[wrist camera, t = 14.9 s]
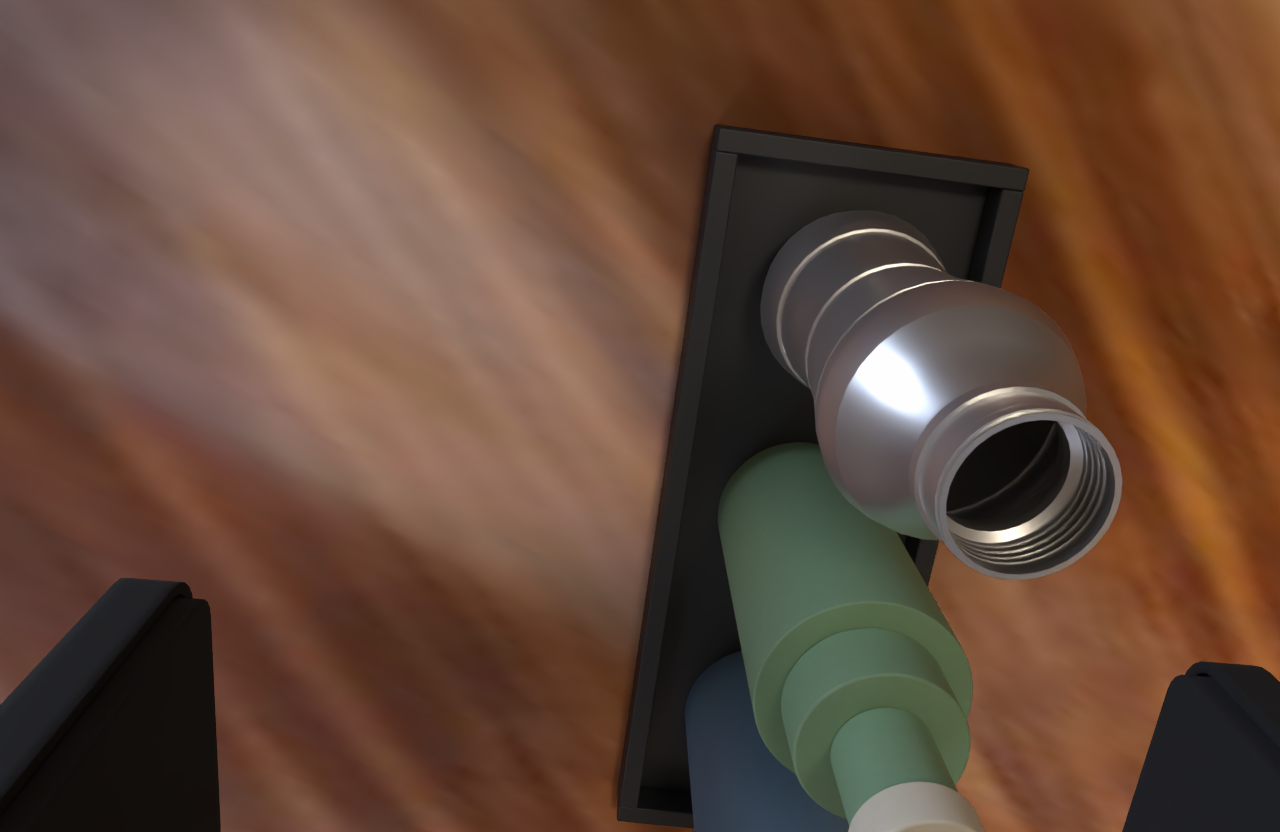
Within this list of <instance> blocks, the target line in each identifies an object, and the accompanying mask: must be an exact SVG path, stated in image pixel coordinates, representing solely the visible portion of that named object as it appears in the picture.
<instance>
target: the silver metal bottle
mask: <svg viewBox="0 0 1280 832" xmlns="http://www.w3.org/2000/svg"><path fill="white" fill-rule="evenodd" d="M760 311H761V325H762V329H763V333H764V337H765V340H766V342H767V344H768V346H769V348H770V350H771V352H772V354H773V356H774V357H775V358H776V360H777V361H778V362H779V363H780V364H781V366H782V367H783V368H784V369H785V370H786V371H787V372H788V373H790V374H791V375H792V376H793V377H794V378H796V379H797V380H798V381H799V382H801V383H802V384H803V385H804V386H806V387H808V388H810V389H811V392H812V396H813V398H814V410H815V425H816V434H817V438H818V442H819V446H820V450H821V453H822V457H823V460H824V464H825V467H826V469H827V471H828V473H829V475H830V477H831V479H832V481H833V483H834V485H835V486H836V488H837V489H838V490H839V491H840V492H841V494H842V495H843V496H844V497H845V498H846V500H847V501H848V502H849V503H850V504H851V505H853V506H854V507H855V508H856V509H858V510H859V511H860V512H862V513H863V514H864V515H865V516H867V517H868V518H870V519H872V520H874V521H876V522H878V523H880V524H882V525H884V526H886V527H888V528H890V529H892V530H894V531H896V532H898V533H900V534H904V535H908V536H912V537H915V538H919V539H924V540H940V541H943V542H944V543H945V544H946V546H947V547H948V548H949V549H950V551H951V552H952V553H953V554H954V556H956V557H957V558H958V559H960V560H961V561H962V562H963V563H965V564H966V565H967V566H969V567H970V568H972V569H974V570H976V571H978V572H980V573H982V574H984V575H987V576H991V577H995V578H998V579H1005V580H1025V579H1034V578H1039V577H1042V576H1045V575H1049V574H1052V573H1055V572H1057V571H1059V570H1061V569H1063V568H1065V567H1067V566H1070V565H1071V564H1073V563H1074V562H1075V561H1077V560H1078V559H1080V558H1081V557H1083V556H1084V555H1085V554H1086V553H1087V552H1089V551H1090V550H1091V549H1092V548H1093V547H1094V546H1095V545H1096V544H1097V543H1098V542H1099V540H1100V539H1101V538H1102V536H1103V535H1104V534H1105V532H1106V531H1107V530H1108V528H1109V527H1110V525H1111V523H1112V521H1113V519H1114V517H1115V515H1116V513H1117V509H1118V505H1119V502H1120V498H1121V490H1122V475H1121V469H1120V463H1119V461H1118V459H1117V456H1116V454H1115V451H1114V449H1113V448H1112V446H1111V445H1110V443H1109V442H1108V440H1107V439H1106V438H1105V436H1104V435H1103V434H1102V432H1101V431H1100V430H1098V429H1097V428H1096V427H1095V426H1094V425H1093V424H1091V423H1090V422H1089V421H1088V420H1087V419H1086V394H1085V388H1084V382H1083V377H1082V374H1081V371H1080V367H1079V364H1078V362H1077V359H1076V357H1075V354H1074V352H1073V349H1072V347H1071V344H1070V342H1069V340H1068V339H1067V337H1066V336H1065V335H1064V333H1063V332H1062V330H1061V329H1060V328H1059V326H1058V325H1057V323H1056V322H1055V321H1054V320H1053V319H1052V318H1050V317H1049V316H1048V315H1047V314H1046V313H1045V312H1044V311H1042V310H1041V309H1040V308H1039V307H1038V306H1036V305H1035V304H1033V303H1031V302H1029V301H1027V300H1025V299H1023V298H1021V297H1020V296H1018V295H1016V294H1013V293H1011V292H1008V291H1006V290H1004V289H1001V288H998V287H994V286H991V285H987V284H984V283H980V282H974V281H969V280H964V279H960V278H955V277H953V276H951V275H949V274H948V273H947V272H946V269H945V267H944V265H943V263H942V260H941V258H940V257H939V255H938V254H937V252H936V251H935V249H934V248H933V247H932V245H931V244H930V242H929V241H928V240H927V238H926V237H925V236H924V235H923V234H922V233H921V232H920V231H918V230H917V229H916V228H915V227H914V226H913V225H912V224H910V223H908V222H906V221H904V220H902V219H900V218H898V217H897V216H894V215H890V214H887V213H883V212H879V211H868V210H855V211H847V212H839V213H834V214H831V215H828V216H825V217H822V218H819V219H817V220H815V221H813V222H811V223H810V224H808V225H806V226H804V227H803V228H802V229H800V230H799V231H798V232H797V233H795V234H794V235H793V236H792V237H790V238H789V240H788V241H787V242H786V243H785V244H784V245H783V247H782V248H781V249H780V250H779V251H778V253H777V255H776V257H775V258H774V260H773V262H772V263H771V265H770V268H769V270H768V273H767V276H766V279H765V282H764V286H763V291H762V298H761V305H760Z"/></svg>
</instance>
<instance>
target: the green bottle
mask: <svg viewBox="0 0 1280 832" xmlns="http://www.w3.org/2000/svg"><path fill="white" fill-rule="evenodd" d="M718 528H719V533H720V539H721V544H722V549H723V555H724V560H725V565H726V570H727V576H728V581H729V586H730V592H731V597H732V602H733V607H734V613H735V618H736V623H737V629H738V634H739V639H740V644H741V650H742V655H743V660H744V665H745V671H746V676H747V681H748V687H749V692H750V697H751V702H752V708H753V713H754V718H755V723H756V726H757V729H758V732H759V734H760V736H761V738H762V740H763V742H764V744H765V745H766V747H767V748H768V749H769V751H770V752H771V753H772V755H773V756H774V757H775V758H776V759H777V760H778V761H779V762H780V763H781V764H782V765H784V766H785V767H786V768H788V769H789V770H790V771H792V772H793V773H795V774H796V776H797V778H798V780H799V782H800V784H801V786H802V787H803V789H804V790H805V791H806V793H807V794H808V795H809V796H810V797H811V798H812V799H813V800H814V801H815V802H816V803H817V804H818V805H820V806H821V807H822V808H824V809H825V810H827V811H829V812H831V813H832V814H835V815H837V816H839V817H842V818H845V819H847V821H848V824H849V830H848V832H985V830H984V828H983V826H982V823H981V821H980V819H979V817H978V815H977V813H976V811H975V809H974V808H973V806H972V805H971V803H970V802H969V801H968V800H967V799H966V798H964V797H963V796H962V795H961V794H959V793H958V791H957V789H956V787H955V785H956V783H957V782H958V780H959V779H960V777H961V775H962V773H963V771H964V769H965V767H966V764H967V761H968V757H969V752H970V740H971V738H970V730H969V726H968V722H967V717H968V714H969V711H970V707H971V701H972V692H973V682H972V674H971V669H970V666H969V662H968V659H967V657H966V655H965V653H964V651H963V649H962V647H961V645H960V643H959V642H958V640H957V638H956V636H955V635H954V633H953V631H952V629H951V627H950V626H949V624H948V622H947V620H946V619H945V617H944V615H943V613H942V612H941V610H940V608H939V606H938V605H937V603H936V601H935V599H934V598H933V596H932V594H931V592H930V591H929V589H928V587H927V585H926V583H925V582H924V580H923V578H922V576H921V575H920V573H919V571H918V569H917V568H916V566H915V564H914V562H913V561H912V559H911V557H910V555H909V554H908V552H907V550H906V548H905V546H904V545H903V543H902V541H901V539H900V538H899V536H898V534H897V532H896V531H894V530H892V529H890V528H888V527H886V526H884V525H882V524H880V523H878V522H876V521H874V520H872V519H870V518H868V517H867V516H865V515H864V514H863V513H862V512H860V511H859V510H858V509H856V508H855V507H854V506H853V505H851V504H850V503H849V502H848V501H847V500H846V498H845V497H844V496H843V495H842V494H841V492H840V491H839V490H838V489H837V488H836V486H835V485H834V483H833V481H832V479H831V477H830V475H829V473H828V471H827V469H826V467H825V464H824V460H823V457H822V453H821V450H820V446H819V444H814V443H806V442H794V443H785V444H780V445H776V446H773V447H770V448H767V449H765V450H763V451H761V452H759V453H757V454H756V455H754V456H752V457H751V458H749V459H748V460H747V461H746V462H744V463H743V464H742V465H741V466H740V467H739V468H738V469H737V470H736V471H735V472H734V474H733V475H732V476H731V478H730V479H729V481H728V482H727V484H726V486H725V488H724V490H723V493H722V495H721V498H720V502H719V506H718Z"/></svg>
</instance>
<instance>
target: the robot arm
mask: <svg viewBox="0 0 1280 832" xmlns="http://www.w3.org/2000/svg"><path fill="white" fill-rule="evenodd" d="M220 826H221V825H220V804H219V782H218V761H217V739H216V717H215V696H214V674H213V652H212V631H211V614H210V607H209V605H208V602H207V601H206V600H205V599H193V597H192V593H191V590H190V588H189V586H188V585H187V584H186V583H185V582H173V581H160V580H147V579H134V578H121V579H119V580H118V581H117V582H115V583H114V584H113V585H112V586H111V587H110V588H109V589H108V590H107V591H106V593H105V594H104V595H103V596H102V597H101V598H100V599H99V600H98V601H97V602H96V603H95V604H94V605H93V606H92V608H91V609H90V610H89V611H88V612H87V613H86V614H85V615H84V616H83V617H82V618H81V619H80V620H79V621H78V623H77V624H76V625H75V626H74V627H73V628H72V629H71V630H70V631H69V632H68V633H67V634H66V635H65V636H64V637H63V639H62V640H61V641H60V642H59V643H58V644H57V645H56V646H55V647H54V648H53V649H52V650H51V651H50V652H49V654H48V655H47V656H46V657H45V658H44V659H43V660H42V661H41V662H40V663H39V664H38V665H37V666H36V667H35V668H34V670H33V671H32V672H31V673H30V674H29V675H28V676H27V677H26V678H25V679H24V680H23V681H22V682H21V683H20V685H19V686H18V687H17V688H16V689H15V690H14V691H13V692H12V693H11V694H10V695H9V696H8V697H7V698H6V699H5V701H4V702H3V703H2V704H1V705H0V832H220ZM1122 832H1280V682H1279V681H1278V680H1277V679H1276V678H1275V677H1274V676H1273V675H1272V674H1271V673H1269V672H1268V671H1267V670H1265V669H1264V668H1262V667H1258V666H1252V665H1240V664H1227V663H1214V662H1198V663H1195V664H1193V665H1192V666H1191V667H1190V668H1189V669H1188V670H1187V672H1186V674H1185V675H1179V676H1177V677H1175V678H1174V679H1173V680H1172V681H1171V683H1170V685H1169V688H1168V690H1167V693H1166V696H1165V699H1164V703H1163V706H1162V709H1161V712H1160V715H1159V718H1158V721H1157V724H1156V728H1155V731H1154V734H1153V737H1152V740H1151V743H1150V746H1149V750H1148V753H1147V756H1146V759H1145V762H1144V765H1143V768H1142V771H1141V775H1140V778H1139V781H1138V784H1137V787H1136V790H1135V793H1134V796H1133V800H1132V803H1131V806H1130V809H1129V812H1128V815H1127V818H1126V822H1125V825H1124V828H1123V831H1122Z"/></svg>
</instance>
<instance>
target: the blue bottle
mask: <svg viewBox="0 0 1280 832" xmlns="http://www.w3.org/2000/svg"><path fill="white" fill-rule="evenodd" d="M685 725H686V737H687V750H688V762H689V774H690V786H691V798H692V810H693V822H694V832H848V830H849V824H848V821H847V819H845V818H842V817H839V816H837V815H835V814H832V813H831V812H829V811H827V810H825V809H824V808H822V807H821V806H820V805H818V804H817V803H816V802H815V801H814V800H813V799H812V798H811V797H810V796H809V795H808V794H807V793H806V791H805V790H804V789H803V787H802V786H801V784H800V782H799V780H798V778H797V776H796V774H795V773H793V772H792V771H790V770H789V769H788V768H786V767H785V766H784V765H782V764H781V763H780V762H779V761H778V760H777V759H776V758H775V757H774V756H773V755H772V753H771V752H770V751H769V749H768V748H767V747H766V745H765V744H764V742H763V740H762V738H761V736H760V734H759V732H758V729H757V726H756V723H755V718H754V713H753V708H752V702H751V697H750V692H749V687H748V681H747V676H746V671H745V665H744V660H743V655H742V651H739V652H736V653H732V654H730V655H727V656H725V657H723V658H721V659H719V660H718V661H716V662H714V663H713V664H712V665H710V666H709V667H708V668H707V669H706V670H704V671H703V672H702V673H701V674H700V676H699V677H698V678H697V680H696V681H695V682H694V684H693V686H692V687H691V689H690V692H689V694H688V697H687V700H686V705H685Z"/></svg>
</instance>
